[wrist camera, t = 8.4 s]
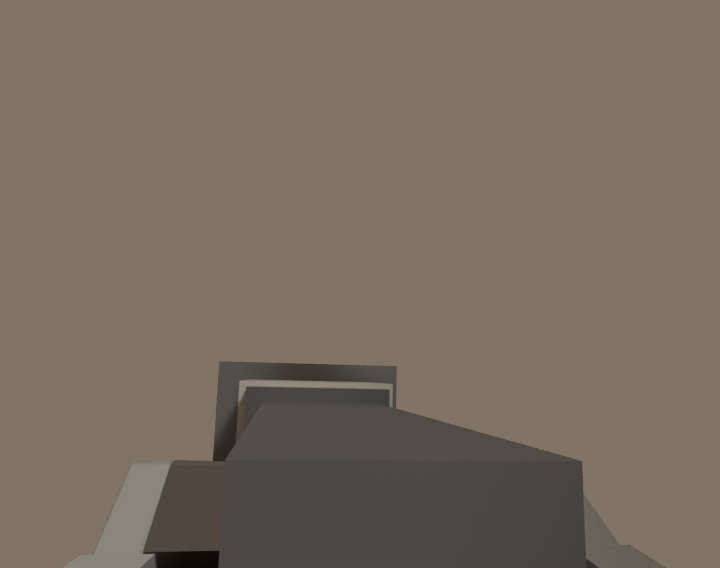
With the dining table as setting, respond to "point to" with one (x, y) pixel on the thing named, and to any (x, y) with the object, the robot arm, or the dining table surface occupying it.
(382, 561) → the grey square bar
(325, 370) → the stand
